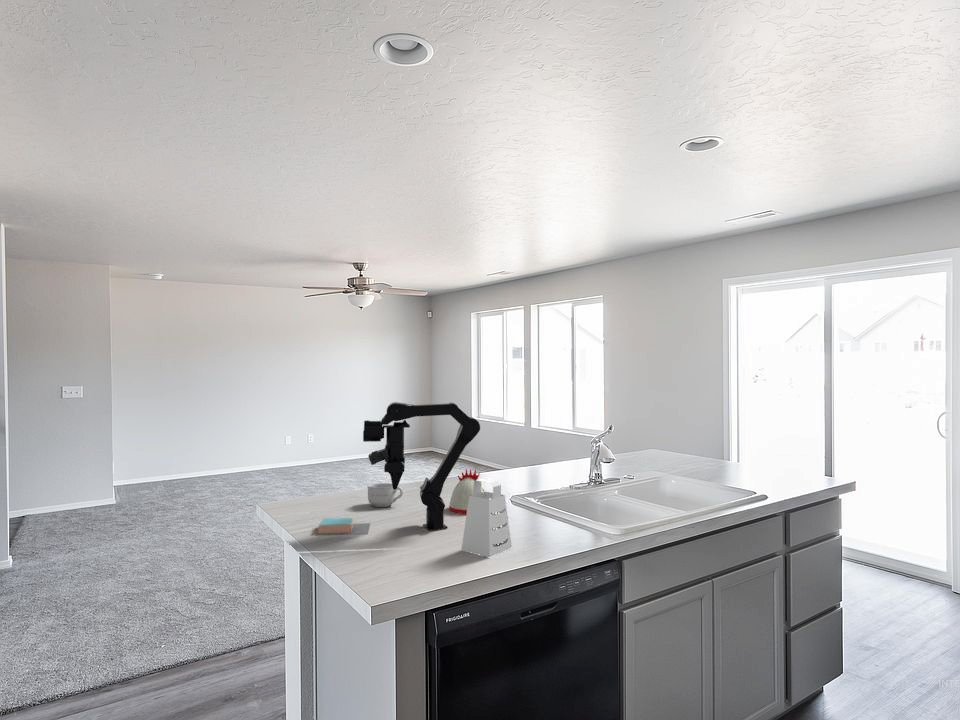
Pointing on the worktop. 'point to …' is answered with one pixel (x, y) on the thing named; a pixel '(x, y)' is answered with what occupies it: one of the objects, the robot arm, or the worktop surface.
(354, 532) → the mat
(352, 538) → the worktop surface
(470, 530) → the grater
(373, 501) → the teacup
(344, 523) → the pink and teal block
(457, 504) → the kitchen timer
